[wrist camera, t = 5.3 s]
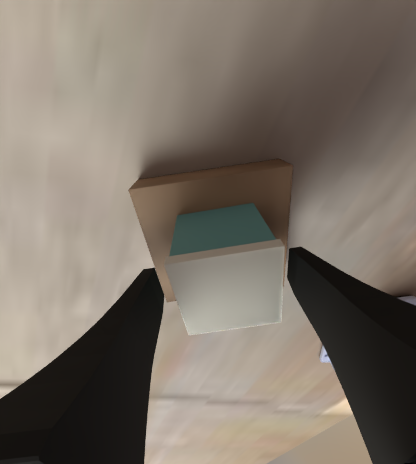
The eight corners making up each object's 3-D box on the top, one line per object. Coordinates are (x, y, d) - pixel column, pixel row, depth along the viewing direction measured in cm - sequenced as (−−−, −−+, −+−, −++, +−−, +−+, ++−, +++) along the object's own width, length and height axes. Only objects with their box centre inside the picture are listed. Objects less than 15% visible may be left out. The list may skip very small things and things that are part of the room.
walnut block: (273, 266, 17) (283, 286, 15) (170, 280, 18) (166, 302, 15) (277, 157, 13) (292, 165, 11) (139, 178, 13) (128, 189, 11)
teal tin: (257, 263, 14) (281, 322, 10) (190, 273, 14) (188, 335, 10) (254, 200, 12) (284, 245, 8) (174, 214, 12) (163, 264, 8)
